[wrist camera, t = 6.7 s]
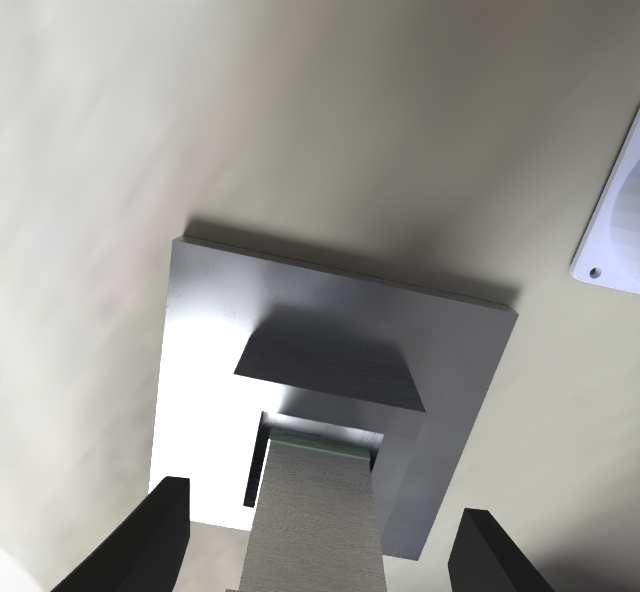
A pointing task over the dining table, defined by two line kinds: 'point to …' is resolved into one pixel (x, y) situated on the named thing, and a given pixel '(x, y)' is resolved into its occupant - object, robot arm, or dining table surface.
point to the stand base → (317, 380)
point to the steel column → (314, 519)
